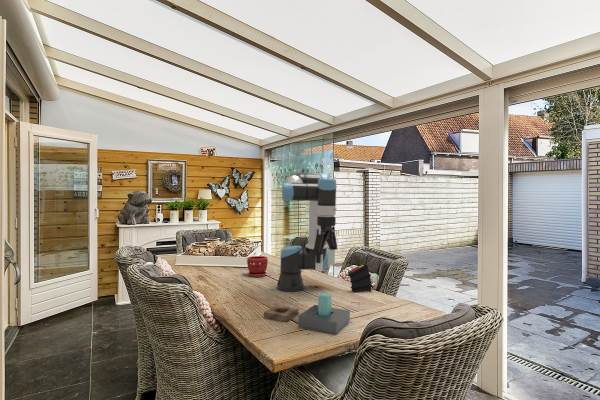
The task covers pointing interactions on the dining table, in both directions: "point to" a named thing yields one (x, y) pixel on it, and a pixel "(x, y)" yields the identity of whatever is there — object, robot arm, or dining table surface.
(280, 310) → the brown flat piece
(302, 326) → the port
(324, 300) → the peg
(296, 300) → the dining table surface
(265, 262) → the plant pot
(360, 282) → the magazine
